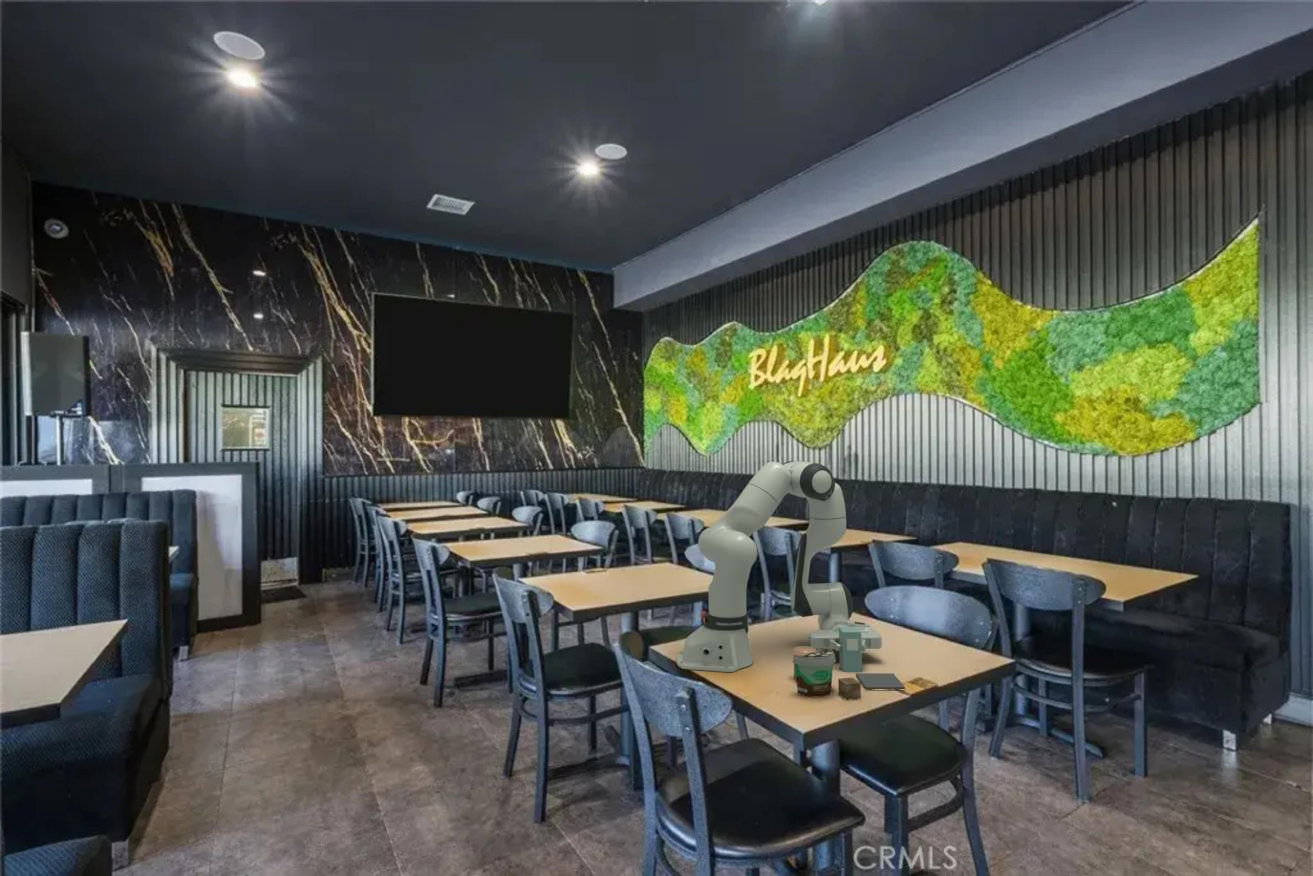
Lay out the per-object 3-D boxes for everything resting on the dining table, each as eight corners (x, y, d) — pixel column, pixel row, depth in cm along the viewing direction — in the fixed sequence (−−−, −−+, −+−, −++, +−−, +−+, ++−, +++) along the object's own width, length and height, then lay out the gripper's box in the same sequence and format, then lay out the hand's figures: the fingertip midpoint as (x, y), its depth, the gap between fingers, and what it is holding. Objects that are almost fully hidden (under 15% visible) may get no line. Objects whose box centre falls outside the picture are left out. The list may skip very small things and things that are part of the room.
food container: (809, 702, 160) (808, 661, 160) (793, 693, 165) (792, 654, 165) (846, 692, 165) (845, 653, 166) (830, 684, 171) (829, 646, 171)
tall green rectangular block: (843, 672, 180) (843, 632, 180) (839, 665, 185) (838, 627, 185) (862, 672, 180) (861, 632, 180) (857, 665, 185) (856, 627, 185)
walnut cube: (846, 700, 161) (845, 684, 161) (838, 694, 164) (838, 678, 165) (860, 699, 161) (860, 682, 161) (853, 693, 165) (852, 677, 165)
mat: (865, 690, 167) (865, 687, 167) (856, 676, 177) (855, 673, 177) (905, 690, 166) (905, 687, 166) (893, 676, 176) (893, 673, 176)
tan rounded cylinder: (795, 683, 173) (795, 653, 173) (792, 675, 179) (791, 646, 179) (818, 683, 172) (818, 653, 172) (814, 675, 178) (813, 645, 178)
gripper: (804, 623, 196) (813, 637, 182) (873, 623, 195) (887, 636, 181) (805, 644, 196) (813, 659, 182) (874, 644, 195) (887, 659, 181)
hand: (851, 648), depth 182 cm, fingers closed on tall green rectangular block, 5 cm apart
